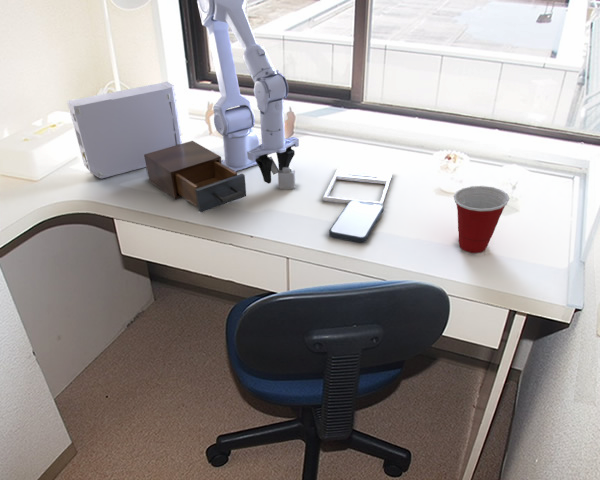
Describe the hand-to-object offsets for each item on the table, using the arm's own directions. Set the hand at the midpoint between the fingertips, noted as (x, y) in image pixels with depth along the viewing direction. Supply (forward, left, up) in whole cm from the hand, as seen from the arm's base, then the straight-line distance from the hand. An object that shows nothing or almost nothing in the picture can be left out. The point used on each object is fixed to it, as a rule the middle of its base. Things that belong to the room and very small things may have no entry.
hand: (275, 179), depth 143 cm
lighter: (-1, +1, -2) cm, 3 cm away
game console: (+21, -36, -2) cm, 42 cm away
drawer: (+17, -3, -1) cm, 17 cm away
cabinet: (+16, -17, -2) cm, 24 cm away
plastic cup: (-15, +51, -2) cm, 53 cm away
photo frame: (-16, +15, -2) cm, 22 cm away
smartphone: (-3, +28, -2) cm, 28 cm away
